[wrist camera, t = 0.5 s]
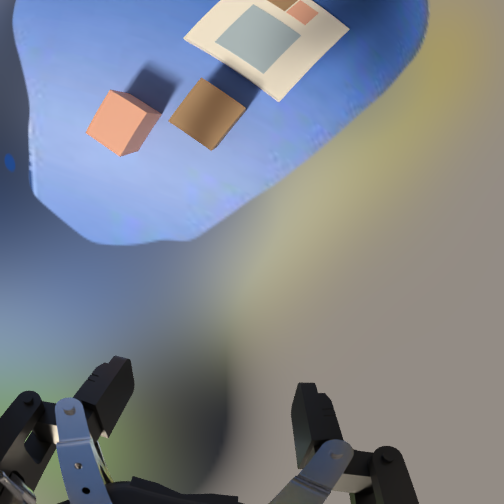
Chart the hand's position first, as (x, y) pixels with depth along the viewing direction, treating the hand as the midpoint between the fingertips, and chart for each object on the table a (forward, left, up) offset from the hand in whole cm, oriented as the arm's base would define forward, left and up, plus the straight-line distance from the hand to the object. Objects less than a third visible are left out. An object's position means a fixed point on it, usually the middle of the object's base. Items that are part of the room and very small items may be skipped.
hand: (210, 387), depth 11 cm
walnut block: (-9, +8, -25) cm, 28 cm away
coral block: (-17, +2, -25) cm, 31 cm away
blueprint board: (-11, +21, -25) cm, 35 cm away
